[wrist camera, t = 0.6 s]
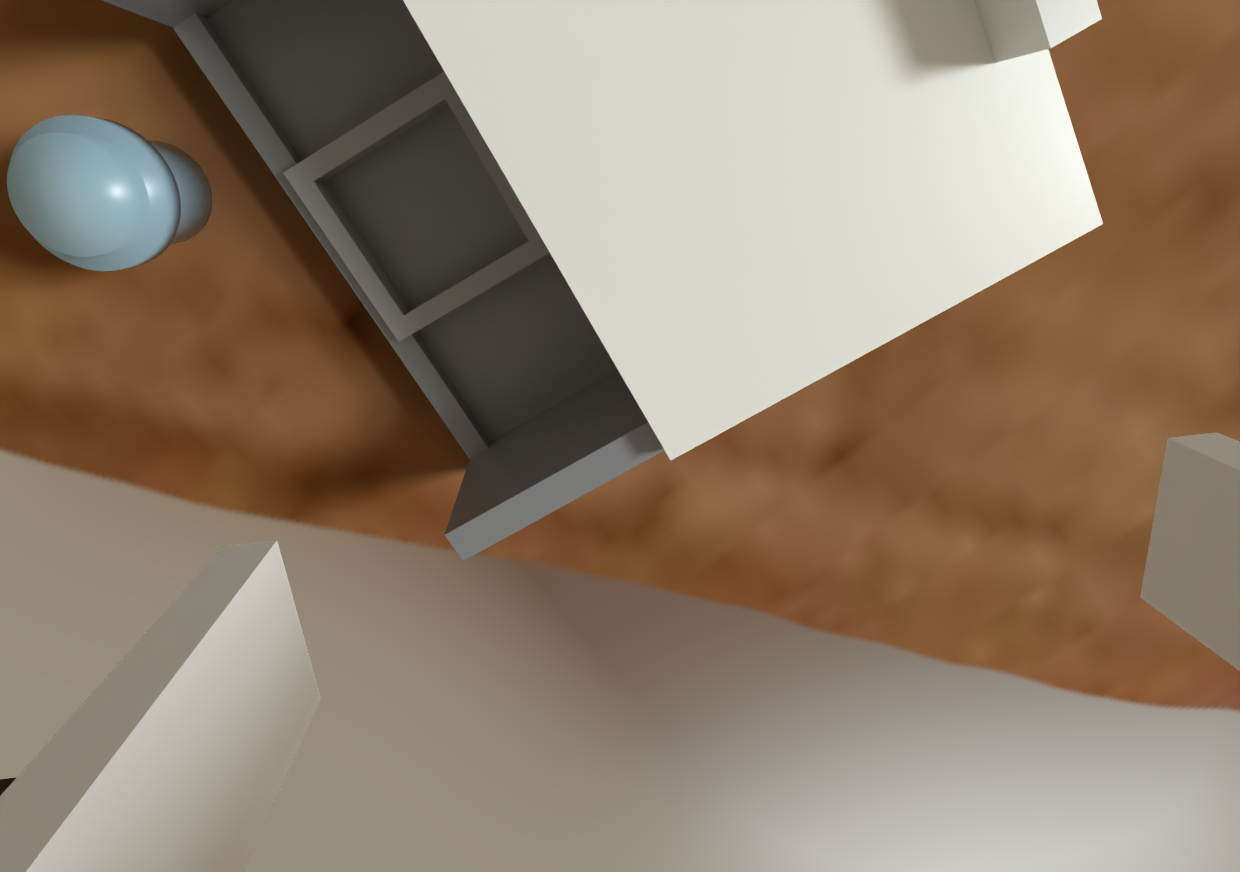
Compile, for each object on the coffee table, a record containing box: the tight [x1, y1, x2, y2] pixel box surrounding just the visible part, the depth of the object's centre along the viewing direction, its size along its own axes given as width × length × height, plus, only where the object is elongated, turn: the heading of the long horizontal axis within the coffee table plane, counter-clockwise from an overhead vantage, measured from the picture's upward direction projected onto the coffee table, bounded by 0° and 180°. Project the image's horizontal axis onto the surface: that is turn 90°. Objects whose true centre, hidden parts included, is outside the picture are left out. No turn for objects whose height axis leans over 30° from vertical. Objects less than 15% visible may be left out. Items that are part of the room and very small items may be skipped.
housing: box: [102, 0, 664, 561], centre depth 27 cm, size 22×16×10 cm
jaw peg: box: [7, 115, 212, 271], centre depth 28 cm, size 5×5×6 cm
